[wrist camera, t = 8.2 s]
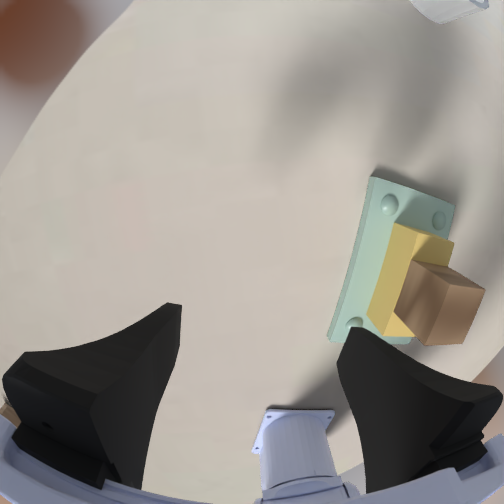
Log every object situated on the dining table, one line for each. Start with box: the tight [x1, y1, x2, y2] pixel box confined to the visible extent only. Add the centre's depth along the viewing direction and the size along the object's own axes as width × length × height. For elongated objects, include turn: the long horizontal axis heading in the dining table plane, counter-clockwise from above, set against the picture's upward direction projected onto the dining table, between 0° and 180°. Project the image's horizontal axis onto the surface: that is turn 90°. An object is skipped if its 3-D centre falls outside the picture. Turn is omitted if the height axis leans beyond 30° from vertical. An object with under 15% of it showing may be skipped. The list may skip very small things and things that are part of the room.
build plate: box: [327, 176, 455, 344], centre depth 21 cm, size 14×9×1 cm, turn 170°
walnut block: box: [393, 260, 485, 346], centre depth 15 cm, size 4×4×4 cm
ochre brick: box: [366, 223, 454, 337], centre depth 19 cm, size 8×4×4 cm, turn 170°
